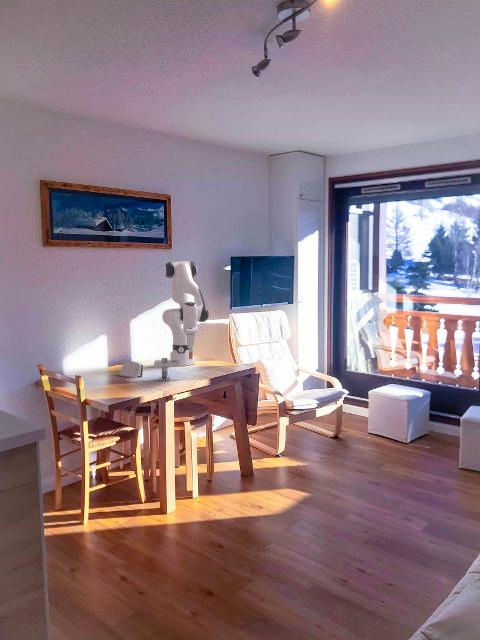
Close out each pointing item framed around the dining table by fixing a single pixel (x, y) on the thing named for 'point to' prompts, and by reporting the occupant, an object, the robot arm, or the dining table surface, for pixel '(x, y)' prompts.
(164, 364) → the grey t-bar
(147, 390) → the dining table surface
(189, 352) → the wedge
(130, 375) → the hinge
